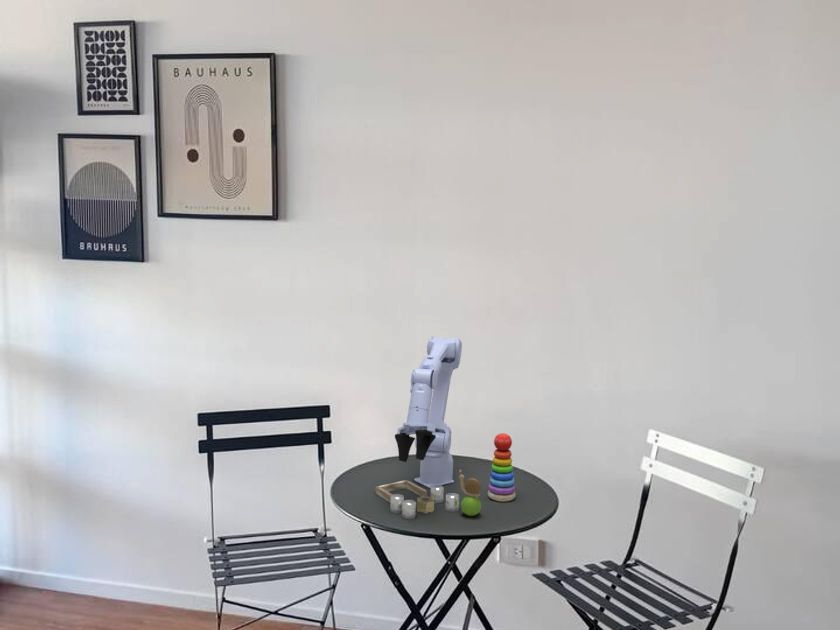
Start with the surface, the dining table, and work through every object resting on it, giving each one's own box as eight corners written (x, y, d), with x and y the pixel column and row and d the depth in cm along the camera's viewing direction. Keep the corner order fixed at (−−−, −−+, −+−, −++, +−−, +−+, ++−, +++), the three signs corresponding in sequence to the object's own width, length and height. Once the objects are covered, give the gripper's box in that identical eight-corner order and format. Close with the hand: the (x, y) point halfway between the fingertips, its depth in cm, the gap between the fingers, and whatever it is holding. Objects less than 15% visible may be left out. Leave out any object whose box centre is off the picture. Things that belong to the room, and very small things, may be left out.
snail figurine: (461, 509, 221) (462, 467, 219) (483, 513, 219) (485, 470, 217) (454, 516, 216) (455, 473, 214) (476, 520, 214) (478, 477, 212)
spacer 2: (410, 512, 217) (410, 498, 217) (418, 517, 214) (418, 503, 214) (399, 515, 215) (399, 501, 215) (407, 520, 212) (407, 505, 212)
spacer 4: (453, 505, 223) (453, 491, 223) (461, 510, 220) (461, 496, 220) (442, 508, 221) (443, 494, 221) (450, 512, 218) (451, 498, 218)
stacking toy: (518, 494, 233) (521, 432, 230) (511, 504, 225) (514, 439, 223) (492, 490, 236) (495, 428, 233) (484, 499, 228) (486, 435, 225)
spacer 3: (438, 497, 229) (438, 484, 228) (445, 501, 226) (446, 488, 225) (427, 500, 227) (428, 486, 226) (435, 504, 224) (435, 490, 223)
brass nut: (428, 505, 223) (428, 494, 223) (437, 510, 220) (437, 500, 219) (413, 509, 220) (413, 498, 220) (422, 514, 217) (422, 503, 216)
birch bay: (406, 486, 237) (406, 479, 236) (426, 497, 229) (426, 490, 228) (374, 493, 230) (374, 486, 230) (394, 505, 222) (394, 498, 222)
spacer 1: (398, 507, 221) (399, 493, 220) (406, 511, 218) (406, 497, 218) (387, 509, 219) (388, 495, 218) (394, 514, 216) (395, 500, 216)
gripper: (391, 409, 222) (383, 458, 218) (423, 403, 211) (415, 454, 206) (411, 416, 226) (404, 464, 221) (444, 411, 215) (436, 461, 210)
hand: (411, 460), depth 214 cm, fingers open, 7 cm apart
